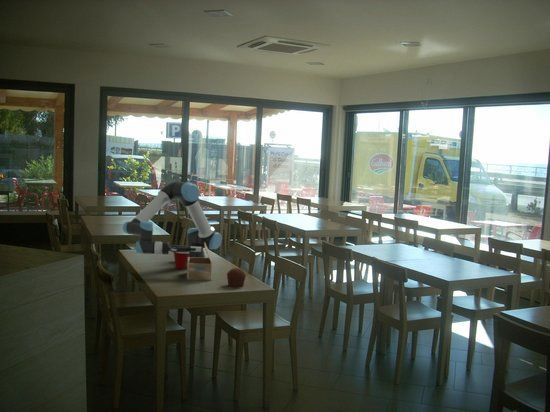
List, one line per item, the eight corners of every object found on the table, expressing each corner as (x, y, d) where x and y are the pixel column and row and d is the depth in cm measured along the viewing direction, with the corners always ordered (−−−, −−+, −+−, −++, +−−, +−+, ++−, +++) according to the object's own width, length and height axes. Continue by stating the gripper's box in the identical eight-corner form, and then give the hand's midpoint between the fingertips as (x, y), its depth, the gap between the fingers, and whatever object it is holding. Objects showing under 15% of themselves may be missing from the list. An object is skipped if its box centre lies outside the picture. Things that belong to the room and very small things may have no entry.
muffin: (246, 288, 330) (247, 271, 329) (227, 288, 328) (228, 270, 327) (243, 283, 342) (244, 266, 341) (225, 283, 339) (225, 266, 339)
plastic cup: (185, 270, 367) (186, 252, 366) (169, 269, 369) (170, 250, 368) (191, 267, 378) (192, 249, 377) (175, 266, 380) (176, 248, 379)
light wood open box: (187, 272, 363) (188, 256, 362) (210, 273, 365) (211, 257, 364) (186, 280, 342) (187, 263, 341) (211, 280, 344) (211, 264, 343)
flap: (210, 257, 363) (204, 242, 361) (211, 257, 363) (205, 242, 361) (211, 263, 344) (204, 247, 343) (211, 263, 344) (205, 247, 343)
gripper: (162, 252, 355) (201, 253, 358) (161, 256, 343) (200, 257, 346) (163, 240, 355) (201, 241, 358) (161, 243, 342) (201, 245, 345)
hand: (201, 249), depth 352 cm, fingers closed
